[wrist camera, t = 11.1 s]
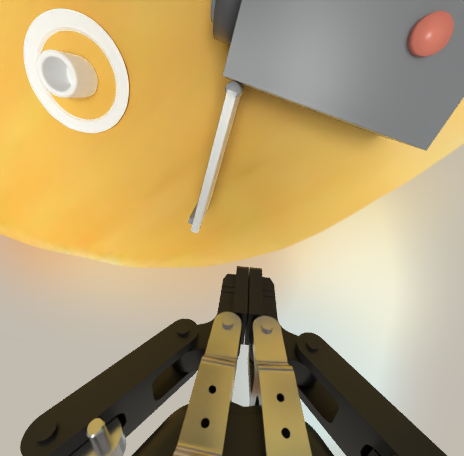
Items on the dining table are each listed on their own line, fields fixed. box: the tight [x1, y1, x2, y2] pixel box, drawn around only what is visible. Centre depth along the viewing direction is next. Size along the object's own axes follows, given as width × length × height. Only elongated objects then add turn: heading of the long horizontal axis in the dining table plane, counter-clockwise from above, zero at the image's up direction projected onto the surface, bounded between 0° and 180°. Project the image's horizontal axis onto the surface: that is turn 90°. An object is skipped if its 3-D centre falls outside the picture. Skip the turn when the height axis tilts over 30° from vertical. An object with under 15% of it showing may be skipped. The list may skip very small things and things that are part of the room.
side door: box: [188, 81, 244, 233], centre depth 27 cm, size 15×2×8 cm, turn 163°
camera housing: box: [211, 0, 464, 150], centre depth 21 cm, size 20×10×10 cm, turn 72°
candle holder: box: [24, 8, 129, 133], centre depth 27 cm, size 12×12×4 cm
